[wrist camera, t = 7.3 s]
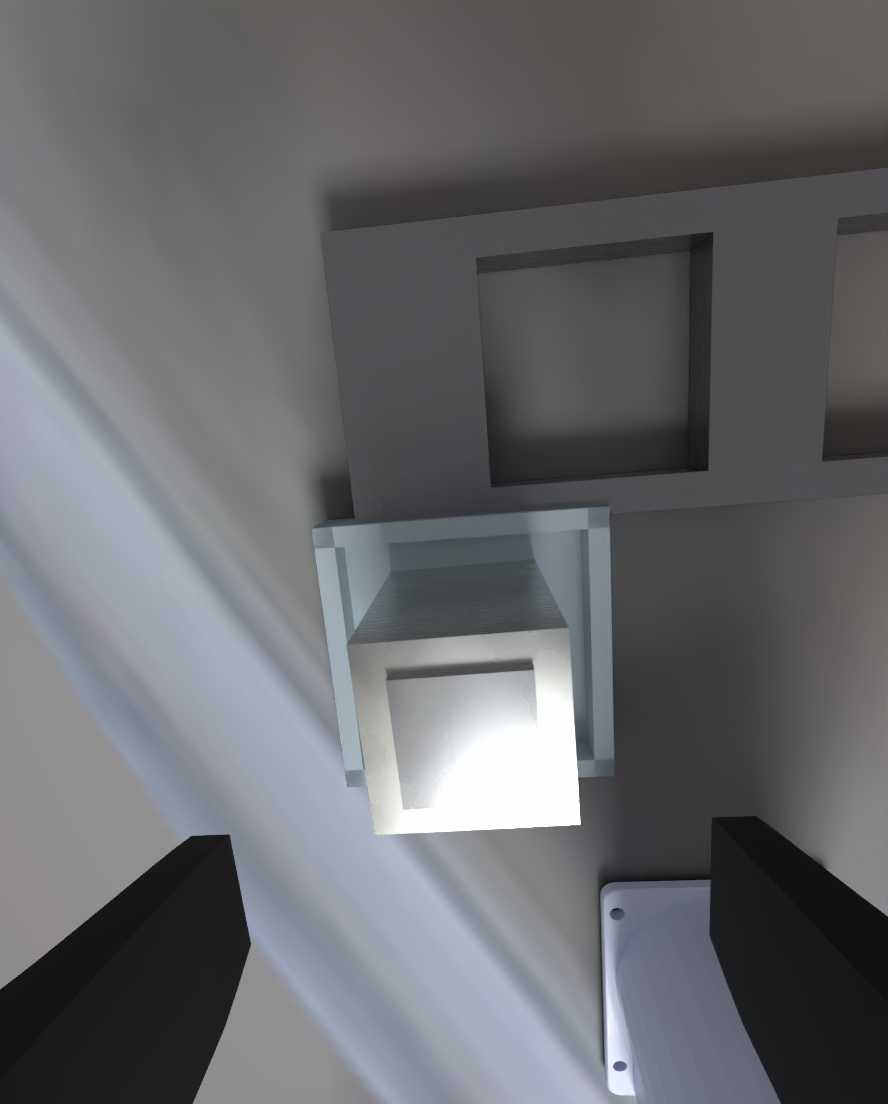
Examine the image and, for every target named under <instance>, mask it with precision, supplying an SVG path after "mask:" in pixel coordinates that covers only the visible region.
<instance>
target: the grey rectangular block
mask: <svg viewBox="0 0 888 1104" xmlns="http://www.w3.org/2000/svg"><path fill="white" fill-rule="evenodd" d="M346 646H347V653H348V660H349V666H350V673H351V679H352V686H353V693H354V699H355V706H356V712H357V719H358V726H359V732H360V739H361V745H362V752H363V759H364V765H365V772H366V779H367V785H368V792H369V798H370V805H371V812H372V818H373V825H374V831H375V835H384V834H403V833H423V832H442V831H462V830H481V829H501V828H520V827H540V826H559V825H579V824H580V811H579V794H578V777H577V760H576V742H575V725H574V708H573V690H572V673H571V656H570V639H569V627H568V625H567V623H566V621H565V619H564V617H563V615H562V613H561V611H560V609H559V607H558V605H557V603H556V601H555V599H554V597H553V595H552V593H551V591H550V589H549V587H548V585H547V583H546V581H545V579H544V577H543V575H542V573H541V571H540V569H539V567H538V565H537V563H536V561H535V559H528V560H517V561H506V562H495V563H483V564H472V565H461V566H449V567H438V568H427V569H415V570H404V571H393V572H390V574H389V575H388V577H387V579H386V580H385V582H384V584H383V585H382V587H381V589H380V590H379V592H378V593H377V595H376V597H375V598H374V600H373V602H372V603H371V605H370V607H369V608H368V610H367V612H366V613H365V615H364V617H363V618H362V620H361V622H360V623H359V625H358V627H357V628H356V630H355V632H354V633H353V635H352V637H351V638H350V640H349V642H348V643H347V645H346Z"/></svg>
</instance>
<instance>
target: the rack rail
mask: <svg viewBox="0 0 888 1104" xmlns="http://www.w3.org/2000/svg"><path fill="white" fill-rule="evenodd" d="M879 230H888V168H879V169H871V170H862V171H853V172H845V173H836V174H827V175H818V176H810V177H801V178H792V179H783V180H775V181H766V182H757V183H749V184H740V185H731V186H722V187H714V188H705V189H696V190H688V191H679V192H670V193H661V194H653V195H644V196H635V197H626V198H618V199H609V200H600V201H592V202H583V203H574V204H565V205H557V206H548V207H539V208H531V209H522V210H513V211H504V212H496V213H487V214H478V215H469V216H461V217H452V218H443V219H435V220H426V221H417V222H408V223H400V224H391V225H382V226H374V227H365V228H356V229H347V230H339V231H330V232H321V241H322V249H323V258H324V266H325V274H326V283H327V291H328V299H329V308H330V316H331V324H332V333H333V341H334V349H335V358H336V366H337V374H338V383H339V391H340V399H341V408H342V416H343V424H344V432H345V441H346V449H347V457H348V466H349V474H350V482H351V491H352V499H353V507H354V516H355V524H367V523H381V522H394V521H407V520H420V519H434V518H447V517H460V516H474V515H487V514H500V513H514V512H527V511H540V510H553V509H567V508H580V507H593V506H607V505H608V506H610V514H617V513H630V512H644V511H657V510H671V509H684V508H698V507H711V506H725V505H738V504H752V503H765V502H779V501H792V500H806V499H819V498H833V497H846V496H860V495H873V494H887V493H888V452H882V453H869V454H857V455H844V456H831V457H822V454H823V439H824V423H825V408H826V393H827V377H828V362H829V346H830V331H831V315H832V300H833V285H834V269H835V254H836V238H837V235H841V234H851V233H860V232H869V231H879ZM682 251H691V306H690V384H689V463H688V468H680V469H667V470H655V471H642V472H629V473H617V474H604V475H592V476H579V477H566V478H554V479H541V480H528V481H516V482H503V483H491V481H490V466H489V450H488V435H487V420H486V404H485V389H484V374H483V358H482V343H481V327H480V312H479V297H478V281H477V273H486V272H495V271H504V270H514V269H523V268H533V267H542V266H551V265H561V264H570V263H579V262H589V261H598V260H607V259H617V258H626V257H635V256H645V255H654V254H663V253H673V252H682Z"/></svg>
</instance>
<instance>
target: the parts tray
mask: <svg viewBox="0 0 888 1104" xmlns="http://www.w3.org/2000/svg"><path fill="white" fill-rule="evenodd" d="M312 535H313V542H314V549H315V556H316V564H317V571H318V578H319V585H320V593H321V600H322V607H323V614H324V622H325V629H326V636H327V643H328V651H329V658H330V665H331V672H332V680H333V687H334V694H335V701H336V709H337V716H338V723H339V730H340V738H341V745H342V752H343V759H344V767H345V774H346V781H347V787H359V786H368V785H367V779H366V772H365V765H364V759H363V752H362V745H361V739H360V732H359V726H358V719H357V712H356V706H355V699H354V693H353V686H352V679H351V673H350V666H349V660H348V653H347V646H346V645H347V643H348V642H349V640H350V638H351V637H352V635H353V633H354V632H355V630H356V628H357V627H358V625H359V623H360V622H361V620H362V618H363V617H364V615H365V613H366V612H367V610H368V608H369V607H370V605H371V603H372V602H373V600H374V598H375V597H376V595H377V593H378V592H379V590H380V589H381V587H382V585H383V584H384V582H385V580H386V579H387V577H388V575H389V574H390V572H393V571H404V570H415V569H427V568H438V567H449V566H461V565H472V564H483V563H495V562H506V561H517V560H528V559H535V561H536V563H537V565H538V567H539V569H540V571H541V573H542V575H543V577H544V579H545V581H546V583H547V585H548V587H549V589H550V591H551V593H552V595H553V597H554V599H555V601H556V603H557V605H558V607H559V609H560V611H561V613H562V615H563V617H564V619H565V621H566V623H567V625H568V627H569V639H570V656H571V673H572V690H573V708H574V725H575V742H576V760H577V777H578V778H583V777H608V776H615V775H614V721H613V666H612V612H611V558H610V506H608V505H607V506H593V507H580V508H567V509H553V510H540V511H527V512H514V513H500V514H487V515H474V516H460V517H447V518H434V519H420V520H407V521H394V522H381V523H367V524H355V518H348V519H335V520H326V521H324V522H322V523H321V524H319V525H317V526H315V527H314V528H312Z"/></svg>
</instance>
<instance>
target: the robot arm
mask: <svg viewBox="0 0 888 1104" xmlns="http://www.w3.org/2000/svg"><path fill="white" fill-rule="evenodd" d="M600 901H601V940H602V978H603V1016H604V1054H605V1078H606V1083H607V1087H608V1089H609V1090H610V1091H611V1092H612V1093H614V1094H617V1095H636V1099H637V1103H638V1104H888V916H886V915H885V914H884V913H882V912H881V911H880V910H878V909H877V908H876V907H874V906H873V905H872V904H870V903H869V902H868V901H866V900H865V899H864V898H862V897H861V896H860V895H859V894H857V893H856V892H855V891H853V890H852V889H851V888H849V887H848V886H847V885H846V884H844V883H843V882H842V881H840V880H839V879H838V878H836V877H835V876H834V875H833V874H831V873H830V872H829V871H827V870H826V869H825V868H823V867H822V866H821V865H820V864H818V863H817V862H816V861H814V860H813V859H812V858H811V857H809V856H808V855H807V854H805V853H804V852H803V851H801V850H800V849H799V848H798V847H796V846H795V845H794V844H792V843H791V842H790V841H789V840H787V839H786V838H785V837H783V836H782V835H781V834H779V833H778V832H777V831H775V830H774V829H773V828H771V827H770V826H769V825H767V824H766V823H765V822H763V821H762V820H761V819H759V818H758V817H756V816H745V817H717V818H712V839H711V880H684V881H647V882H613V883H609V884H607V885H605V886H604V887H603V888H602V890H601V894H600ZM615 908H620V909H619V910H615V911H613V910H612V909H615ZM250 946H251V942H250V937H249V932H248V927H247V922H246V917H245V912H244V907H243V901H242V896H241V891H240V886H239V881H238V876H237V871H236V866H235V860H234V855H233V850H232V845H231V840H230V835H204V836H191V837H189V838H188V839H187V840H185V841H184V842H183V843H181V844H180V845H179V846H177V847H176V848H175V849H174V850H172V851H171V852H170V853H169V854H167V855H166V856H165V857H164V858H162V859H161V860H160V861H159V862H157V863H156V864H155V865H154V866H152V867H151V868H150V869H149V870H148V871H146V872H145V873H144V874H143V875H141V876H140V877H139V878H138V879H137V880H136V881H134V882H133V883H132V884H131V885H129V886H128V887H127V888H126V889H125V890H123V891H122V892H121V893H120V894H119V895H117V896H116V897H115V898H114V899H113V900H111V901H110V902H109V903H108V904H106V905H105V906H104V907H103V908H102V909H100V910H99V911H98V912H97V913H95V914H94V915H93V916H92V917H90V918H89V919H88V920H87V921H86V922H84V923H83V924H82V925H81V926H79V927H78V928H77V929H76V930H75V931H73V932H72V933H71V934H70V935H68V936H67V937H66V938H65V939H64V940H63V941H61V942H60V943H59V944H57V945H56V946H55V947H54V948H52V949H51V950H50V951H49V952H48V953H46V954H45V955H44V956H43V957H42V958H40V959H39V960H38V961H37V962H35V963H34V964H33V965H31V966H30V967H29V968H28V969H26V970H25V971H24V972H22V973H21V974H20V975H18V976H17V977H16V978H15V979H13V980H12V981H11V982H10V983H8V984H7V985H6V986H4V987H3V988H2V989H1V990H0V1104H193V1101H194V1099H195V1097H196V1095H197V1091H198V1090H199V1087H200V1085H201V1083H202V1080H203V1078H204V1075H205V1073H206V1071H207V1069H208V1066H209V1064H210V1061H211V1059H212V1057H213V1054H214V1052H215V1050H216V1047H217V1045H218V1042H219V1039H220V1037H221V1035H222V1033H223V1030H224V1027H225V1025H226V1022H227V1019H228V1016H229V1013H230V1009H231V1007H232V1004H233V1000H234V998H235V994H236V992H237V988H238V985H239V981H240V979H241V975H242V972H243V969H244V965H245V962H246V959H247V955H248V952H249V949H250Z"/></svg>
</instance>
